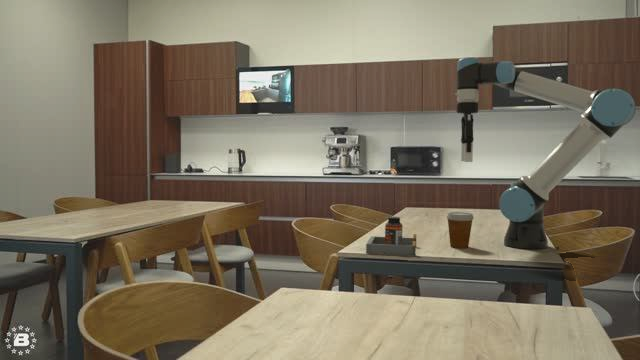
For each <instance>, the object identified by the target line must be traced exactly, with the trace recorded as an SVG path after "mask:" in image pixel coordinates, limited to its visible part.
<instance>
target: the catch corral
mask: <svg viewBox="0 0 640 360" xmlns="http://www.w3.org/2000/svg"><path fill="white" fill-rule="evenodd" d="M416 249H417V233H413V237H402V245H387V244H385V236H372V235H371V236H370V237H369V239H368V241H367V242H366V245H365V253H366V254H378V253H385V254H384V255H403V256H404V255H405V256H407V255H409V256H416Z"/></svg>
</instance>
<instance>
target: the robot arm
mask: <svg viewBox="0 0 640 360" xmlns="http://www.w3.org/2000/svg"><path fill="white" fill-rule="evenodd" d="M456 69H457V70H456V92H455V93H454V95H455V96H456V101H457V103H456V114H463V116H462V117H461V119H460V122H461V139H460V143H461V151H460V152H461V153H460V155H461V156H460V158H461V159H460V162H464V163H473V161H474V158H473V154H474V151H473V148H474V144H473V143H474V140H475V138H474V115H473V114H478V113H479V99H480V98H479V97H480V96H479V95H480V94H479V91H480V90H479V86H480V85H495V86H497V87H499V88H502V89H506V90H510V91H513V92H517V93H521V94H523V95H526V96H529V97H532V98H535V99H538V100H542V101H544V102H545V101H546V102H549V103H551V104H555V105H559V106H561V107H564V108H568V109H571V110H574V111H577V112H581V115H580V122H579V124H578V125H577V126H575V127H574V128H573V130H572V131H571V132H569V134H567V136H565V138H564V139H563V140H562V141H561V142H560V143H559V144H558V145H557V146H556V147H555V148H554V149H553V150H552V151H551V152H550V153H549V154H548V155H547V156H546V157H545V158H544V159H543V161H542V162H541V163H539V164H538V166H536V168H535V169H534V170H533V171H531V173H529V175H521V177H519V178H518V179H517V181H513V182H511V183H510V187H509V188H507V189H505V190H504V191H503V193H501V196H500V197H499V201H498V205H499V210H500V212H501V214H502V215H503V216H504V217H505V218H506V219H507V220H509V223H508V224H509V225H508V227H507V229H506V232H505V235H504V238H503V245H504V246H506V247H510V248H516V249H528V250H529V249H530V250H534V249H535V250H536V249H540V250H541V249H546V248H548V247H549V245H548V242H549V240H548V237H547V235H546V234H547V233H546V231H545V230H546V229H545V228H544V216H545V215H544V210H545V209H544V207H545V204H546V203H547V201H549V199H550V198H549V194H550V192H551V191H552V190H553V189H554V188H556V186H557V185H558V184H559V183H560V182H561V181H562V180H563V179H564V178H565V177H566V176H567V175H568V174H569V173H570V172H571V171H572V170H573V169H574V168H575V167H576V166H577V165H578V164H579V163H581V161H582V160H583V159H585V157H586V156H587V155H588V154H589V153H590V152H591V151H592V150H594V148H595V147H596V146H597V145H599V144H600V143H601V141H603V140H607V139H609V140H610V139H611V138H612V137H613V136H614V135H616V133H618V132H619V130H621V128H622V127H624V126H625V125H628V123H629V122H631V121H632V120H633V118H634V116H635V115H636V114H635V113H636V103H635V100H634V99H633V97H632V96H631V94H630V93H629V92H628V91H625V90H623V89H619V88H609V89H605V90H599V89H596V90H594V91H592V90H588V89H585V88H581V87H578V86H574V85H571V84H568V83H564V82H561V81H558V80H554V79H550V78H547V77H544V76H540V75H536V74H534V73H531V72H530V73H529V72H526V71H522V70H521V69H520V70H519V69H516V67H515V64H514V62H513V61H511V60H510V61H507V60H501V61H491V62H480V59H479V58H477V57H462V58H459V59H458V61H457V67H456Z"/></svg>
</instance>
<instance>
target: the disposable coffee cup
mask: <svg viewBox="0 0 640 360" xmlns="http://www.w3.org/2000/svg"><path fill="white" fill-rule="evenodd" d="M446 215H447V216H446V219H447V224H448V234H449V235H448V236H449V245H450V246H449V247H450V248H455V249H467V248H469V246H470V238H471V231H472V224H473V221H474V218H475V217H474V215H473V213H471V212H464V211H463V212H462V211H460V212H459V211H454V212H453V211H451V212H447V214H446Z"/></svg>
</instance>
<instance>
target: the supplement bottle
mask: <svg viewBox="0 0 640 360" xmlns="http://www.w3.org/2000/svg"><path fill="white" fill-rule="evenodd" d="M387 219H388V221H387V222H386V223H385V227H384V237H385V244H387V245H402V238H403V224H402V223H401V217H400V216H388V218H387Z"/></svg>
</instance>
